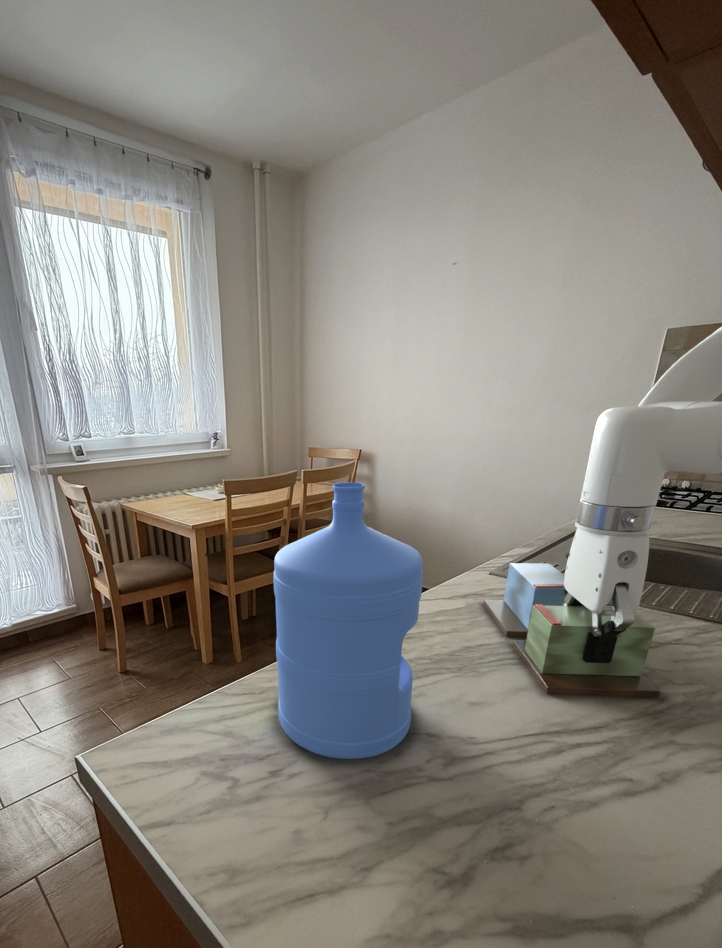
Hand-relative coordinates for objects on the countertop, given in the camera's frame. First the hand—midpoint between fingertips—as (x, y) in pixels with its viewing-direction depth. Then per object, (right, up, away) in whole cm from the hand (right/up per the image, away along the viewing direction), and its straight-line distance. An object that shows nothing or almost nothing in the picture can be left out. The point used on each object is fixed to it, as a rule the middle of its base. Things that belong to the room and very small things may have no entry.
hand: (582, 647), depth 65 cm
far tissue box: (+2, +4, +16) cm, 16 cm away
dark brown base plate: (+2, +2, +16) cm, 16 cm away
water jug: (-33, -8, -6) cm, 35 cm away
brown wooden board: (0, -4, +2) cm, 4 cm away
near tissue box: (0, -2, +1) cm, 2 cm away
